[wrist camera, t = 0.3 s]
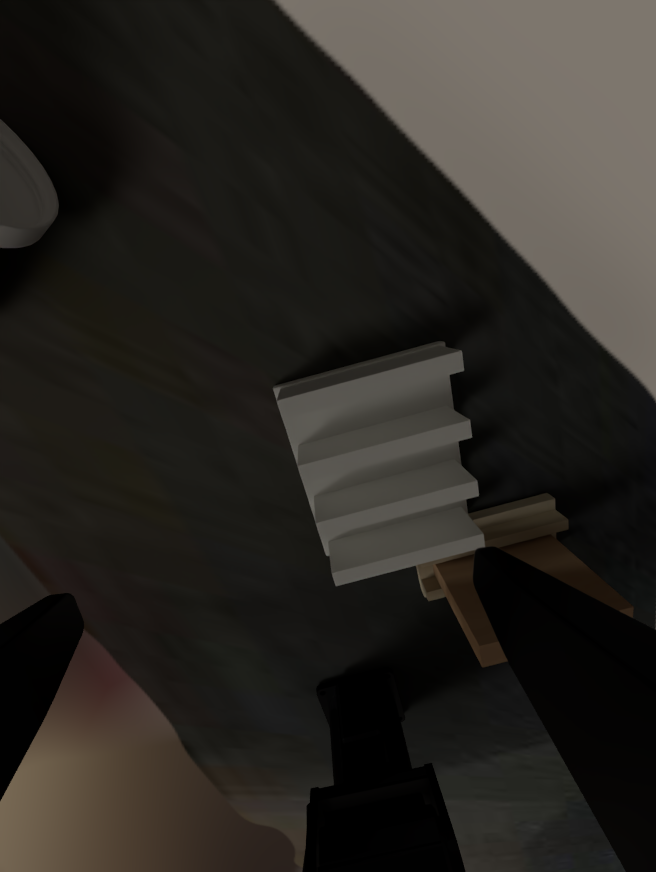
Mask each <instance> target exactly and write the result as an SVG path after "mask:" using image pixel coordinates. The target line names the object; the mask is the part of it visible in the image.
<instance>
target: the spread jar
mask: <svg viewBox="0 0 656 872" xmlns="http://www.w3.org/2000/svg"><path fill="white" fill-rule="evenodd" d="M58 209H59V202H58V197H57V193H56V190H55V188H54V186H53V183H52V181H51V179H50V178H49V176H48V174H47V173H46V171H45V169H44V168H43V166H42V165H41V163H40V162H39V161H38V159H37V158H36V157H35V155H34V154H33V153H32V151H31V150H30V149H29V148H28V147H27V146H26V145H25V143H24V142H23V141H22V140H21V139H20V138H19V137H18V136H17V135H16V134H15V133H14V132H13V131H12V130H11V129H10V128H9V127H8V126H7V125H6V124H5V123H4V122H3V121H2V120H1V119H0V248H21V247H25V246H29V245H32V244H33V243H35V242H37V241H38V240H40V238H41V237H42V236H43V234H44V233H45V232H46V231H47V229H48V228H49V227H50V225H51V224H52V223H53V222H54V220H55V218H56V217H57V215H58Z"/></svg>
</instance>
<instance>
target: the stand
mask: <svg viewBox="0 0 656 872" xmlns="http://www.w3.org/2000/svg"><path fill="white" fill-rule="evenodd" d="M468 516H469V517H470V518H471V519H472V520H473V522H474V523H475V524H476V525H477V526H478V528H479V529H480V530H481V531H482V532H483V534H484V542H485V547H490V546H494V547H497V548H499V547H503V546H507V545H511V544H514V543H518V542H522V541H526V540H530V539H534V538H537V537H541V536H545V535H549V534H551V535H552V536H553V537H554V538H556V533H557V532H560V531H564V530H568V519H567V518H566V517H564V516H563V515H562V514H561V513H559V512H558V511H557V510H555V498H554V497H552V496H551V495H549V494H548V493H545V494H541V495H537V496H533V497H529V498H525V499H522V500H518V501H514V502H510V503H506V504H503V505H499V506H495V507H491V508H487V509H484V510H480V511H476V512H472V513H468ZM472 554H475V550H473V551H469V552H465V553H461V554H457V555H453V556H450V557H446V558H442V559H438V560H434V561H431V562H427V563H423V564H419V565H416V567H417V572H418V577H419V582H420V586H421V590H422V593H423V595H424V597H427V599H428V601H431V600H435V599H439V598H443V597H446V596H445V594H444V592H443V590H442V588H441V586H440V584H439V582H438V580H437V578H436V576H435V574H434V571H433V566H432V565H434V564H438V563H442V562H445V561H449V560H453V559H457V558H461V557H465V556H468V555H472Z"/></svg>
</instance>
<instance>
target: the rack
mask: <svg viewBox="0 0 656 872" xmlns="http://www.w3.org/2000/svg"><path fill="white" fill-rule="evenodd" d="M462 371H464V365H463V356H462V350H457V349H452V348H448V347H446V346H445V342H443V341H437V342H433V343H430V344H426V345H422V346H419V347H415V348H411V349H408V350H404V351H400V352H397V353H393V354H389V355H386V356H382V357H378V358H375V359H371V360H367V361H364V362H360V363H356V364H353V365H349V366H345V367H341V368H338V369H334V370H330V371H327V372H323V373H319V374H316V375H312V376H308V377H305V378H301V379H297V380H294V381H290V382H286V383H283V384H279V385H275V386H274V387H273V390H274V394H275V397H276V400H277V404H278V407H279V410H280V413H281V416H282V419H283V422H284V425H285V428H286V431H287V434H288V437H289V441H290V444H291V447H292V450H293V453H294V456H295V459H296V462H297V466H298V469H299V473H300V476H301V479H302V482H303V484H304V488H305V491H306V494H307V497H308V500H309V503H310V506H311V510H312V513H313V516H314V519H315V522H316V526H317V529H318V532H319V535H320V538H321V541H322V544H323V547H324V550H325V553H326V556H329V555H330V563H331V572H332V576H333V579H334V582H335V585H336V586H339V585H342V584H346V583H350V582H354V581H358V580H362V579H365V578H369V577H373V576H377V575H381V574H385V573H388V572H392V571H396V570H400V569H404V568H408V567H411V566H415V565H419V564H423V563H427V562H431V561H434V560H438V559H442V558H446V557H450V556H453V555H457V554H461V553H465V552H469V551H473V550H476V549H477V548H481V547H485V542H484V534H483V532H482V531H481V530H480V529H479V528H478V526H477V525H476V524H475V523H474V522H473V520H472V519H471V518H470V517H469V516H468V510H467V503H466V499H469V498H473V497H477V496H479V491H478V483H477V480H476V479H475V478H474V477H473V476H472V475H471V474H470V473H469V472H468V471H467V470H465V469H464V468H463V467H462V465H461V458H460V450H459V443H458V441H461V440H465V439H469V438H472V432H471V424H470V420H469V419H468V418H466V417H464V416H463V415H461V414H459V413H458V412H456V411H455V410H454V406H453V398H452V391H451V383H450V376H449V375H451V374H455V373H458V372H462Z"/></svg>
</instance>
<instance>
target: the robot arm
mask: <svg viewBox="0 0 656 872" xmlns="http://www.w3.org/2000/svg"><path fill="white" fill-rule="evenodd" d="M473 583H474V587H475V589H476V592H477V594H478V596H479V599H480V601H481V603H482V605H483V608H484V610H485V612H486V614H487V617H488V619H489V621H490V623H491V626H492V628H493V630H494V632H495V635H496V637H497V639H498V641H499V644H500V646H501V648H502V650H503V652H504V654H505V656H506V658H507V660H508V662H509V664H510V666H511V668H512V669H513V671H514V673H515V675H516V677H517V678H518V680H519V682H520V684H521V685H522V687H523V689H524V691H525V693H526V694H527V696H528V698H529V700H530V702H531V703H532V705H533V707H534V709H535V710H536V712H537V714H538V716H539V718H540V719H541V721H542V723H543V725H544V726H545V728H546V730H547V732H548V734H549V735H550V737H551V739H552V741H553V743H554V744H555V746H556V748H557V750H558V751H559V753H560V755H561V757H562V759H563V760H564V762H565V764H566V766H567V767H568V769H569V771H570V773H571V775H572V776H573V778H574V780H575V782H576V783H577V785H578V787H579V789H580V791H581V792H582V794H583V796H584V798H585V800H586V801H587V803H588V805H589V807H590V808H591V810H592V812H593V814H594V816H595V817H596V819H597V821H598V823H599V824H600V826H601V828H602V830H603V832H604V833H605V835H606V837H607V839H608V840H609V842H610V844H611V846H612V848H613V849H614V851H615V853H616V855H617V857H618V858H619V860H620V862H621V864H622V865H623V867H624V869H625V871H626V872H656V630H655V629H653V628H651V627H649V626H647V625H645V624H643V623H641V622H639V621H638V620H636V619H634V618H632V617H630V616H628V615H626V614H624V613H622V612H620V611H618V610H616V609H614V608H612V607H611V606H609V605H607V604H605V603H603V602H601V601H599V600H597V599H595V598H593V597H591V596H589V595H587V594H586V593H584V592H582V591H580V590H578V589H576V588H574V587H572V586H570V585H568V584H566V583H564V582H562V581H560V580H559V579H557V578H555V577H553V576H551V575H549V574H547V573H545V572H543V571H541V570H539V569H537V568H535V567H534V566H532V565H530V564H528V563H526V562H524V561H522V560H520V559H518V558H516V557H514V556H512V555H510V554H508V553H507V552H505V551H503V550H501V549H499V548H497V547H494V546H490V547H481V548H477V549H476V550H475V554H474V566H473ZM83 629H84V621H83V618H82V616H81V613H80V611H79V608H78V606H77V603H76V601H75V598H74V596H73V595H71V594H69V593H63V594H54V595H49V596H47V597H45V598H43V599H42V600H40V601H38V602H37V603H35V604H34V605H32V606H30V607H28V608H27V609H25V610H23V611H22V612H20V613H18V614H17V615H15V616H13V617H12V618H10V619H9V620H7V621H5V622H3V623H2V624H0V801H1V799H2V797H3V795H4V793H5V791H6V790H7V788H8V786H9V784H10V782H11V780H12V778H13V776H14V774H15V773H16V771H17V769H18V767H19V765H20V763H21V762H22V760H23V758H24V756H25V754H26V752H27V750H28V749H29V747H30V745H31V743H32V741H33V739H34V737H35V736H36V734H37V732H38V730H39V728H40V726H41V724H42V722H43V720H44V718H45V716H46V714H47V712H48V710H49V708H50V706H51V704H52V701H53V700H54V697H55V695H56V693H57V691H58V688H59V686H60V684H61V681H62V679H63V677H64V675H65V672H66V670H67V668H68V665H69V663H70V661H71V659H72V656H73V654H74V651H75V649H76V647H77V645H78V642H79V640H80V638H81V636H82V633H83ZM316 689H317V696H318V699H319V701H320V704H321V706H322V709H323V711H324V714H325V716H326V719H327V721H328V724H329V726H330V735H331V749H332V764H333V778H334V785H333V786H329V787H324V788H319V787H315V788H311V791H310V803H309V804H308V805H307V834H306V849H305V856H304V864H303V871H302V872H465V868H464V865H463V861H462V857H461V854H460V850H459V847H458V843H457V840H456V837H455V834H454V830H453V827H452V824H451V821H450V818H449V815H448V812H447V809H446V806H445V802H444V799H443V796H442V793H441V790H440V787H439V784H438V781H437V778H436V775H435V772H434V768H433V765H432V763H429V764H424V766H423V767H419V768H414V769H412V766H411V762H410V758H409V754H408V750H407V746H406V742H405V738H404V733H403V729H402V725H401V722H403V721H404V720H405V715H404V711H403V708H402V704H401V700H400V697H399V693H398V690H397V686H396V682H395V679H394V675H393V671H392V669H391V668H383V669H379V670H375V671H371V672H367V673H363V674H359V675H355V676H351V677H347V678H344V679H340V680H336V681H332V682H328V683H324V684H320V685H318V686H317V688H316Z"/></svg>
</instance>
